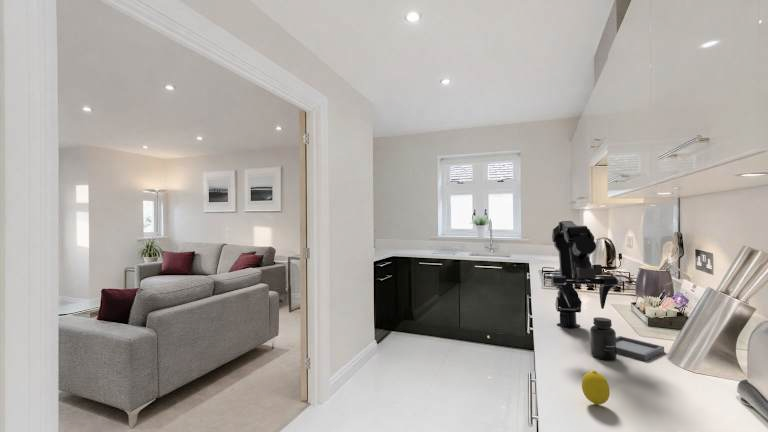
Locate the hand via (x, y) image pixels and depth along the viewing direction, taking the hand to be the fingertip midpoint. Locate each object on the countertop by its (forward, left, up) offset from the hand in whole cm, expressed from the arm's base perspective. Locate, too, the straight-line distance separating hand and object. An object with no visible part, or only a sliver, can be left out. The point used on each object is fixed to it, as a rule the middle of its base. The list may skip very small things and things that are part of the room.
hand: (586, 308), depth 108 cm
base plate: (-15, +5, -15) cm, 22 cm away
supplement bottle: (-2, +3, -15) cm, 16 cm away
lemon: (+29, +17, -15) cm, 37 cm away
